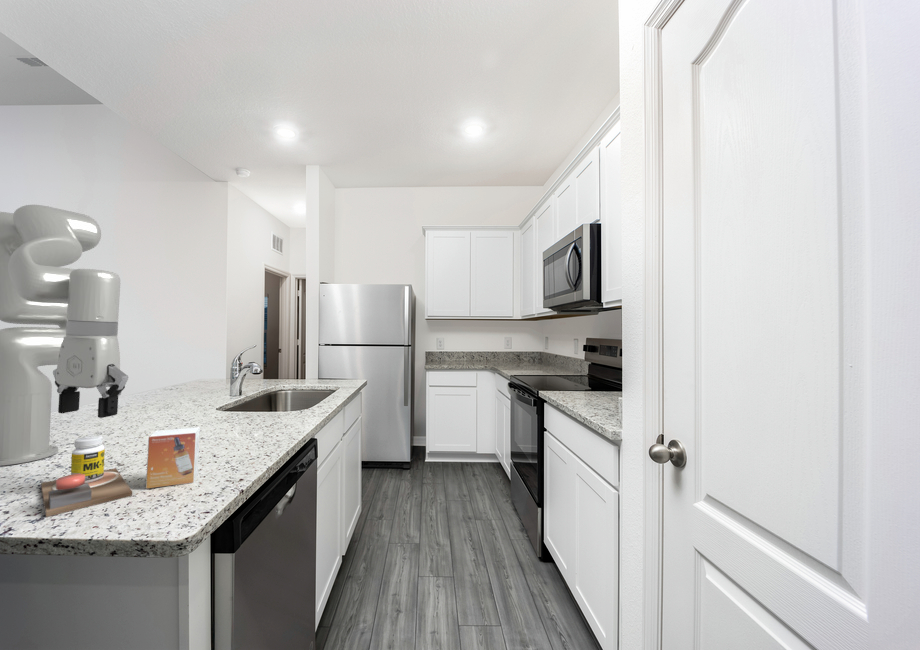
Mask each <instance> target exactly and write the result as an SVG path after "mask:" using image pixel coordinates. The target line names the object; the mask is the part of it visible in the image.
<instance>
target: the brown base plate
mask: <svg viewBox="0 0 920 650" xmlns="http://www.w3.org/2000/svg"><path fill="white" fill-rule="evenodd" d="M56 480H57V479H55V480H50V481H45V482H41V484H40V488H41V493H42V501H43V508H44V512H45V517H46V518H47V517H52V516H55V515H60V514H65V513H68V512H72V511H75V510H79V509H83V508H84V509H85V508H88V507H93V506H96V505H100V504H104V503H108V502H113V501H117V500H121V499H125V498H128V497H132V496H133V490H132V489H131V488H130V486H129V485H128V483H127V482H126V480H125V479H124V478H123V476H122V475H121V473H120V472H119V471H118V469H117V468H116V467H115V468H109V469H104V476H103V477H102V478H101V479H99V480H97V481H94V482H90V483H85V484H83V485H81V486H78V487H74V488H70V489H63V490H58V489H56Z"/></svg>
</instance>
